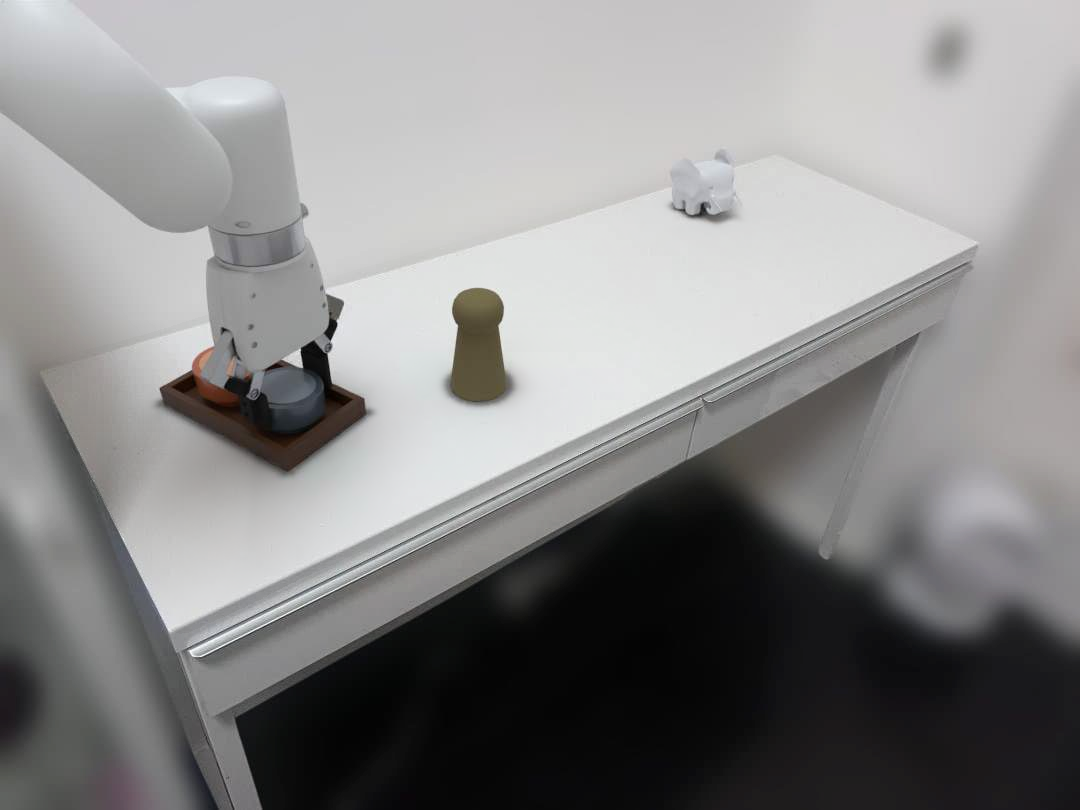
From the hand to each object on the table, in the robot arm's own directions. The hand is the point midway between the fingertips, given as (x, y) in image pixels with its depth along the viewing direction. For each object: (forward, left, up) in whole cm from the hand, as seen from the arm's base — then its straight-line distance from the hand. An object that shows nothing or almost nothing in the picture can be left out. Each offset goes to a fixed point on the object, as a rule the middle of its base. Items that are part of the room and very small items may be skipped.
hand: (289, 402), depth 78 cm
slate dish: (0, 0, -2) cm, 2 cm away
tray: (0, +4, -3) cm, 5 cm away
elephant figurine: (+73, -12, -3) cm, 74 cm away
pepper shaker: (+16, -11, -3) cm, 20 cm away
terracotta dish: (0, +8, -2) cm, 8 cm away
